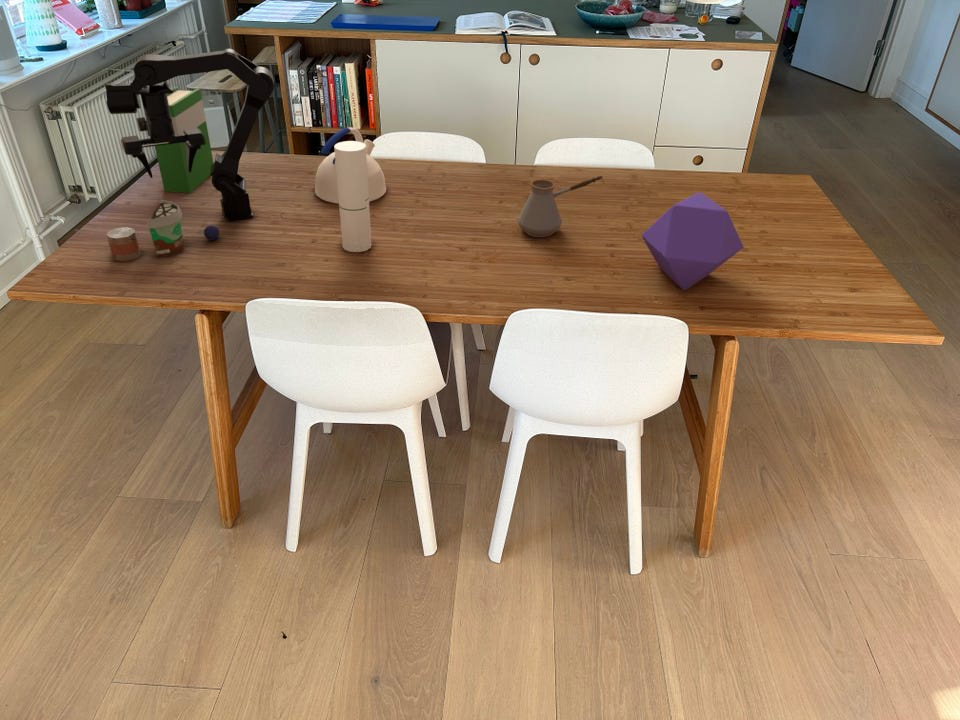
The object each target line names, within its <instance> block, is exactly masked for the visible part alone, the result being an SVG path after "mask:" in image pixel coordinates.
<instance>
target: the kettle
mask: <svg viewBox="0 0 960 720" xmlns="http://www.w3.org/2000/svg"><path fill="white" fill-rule="evenodd" d="M349 133H352V134H353V136H354V139H355V141H357V142H362V143H364V144H365V145H366V158H367V174H368V192H369V203H370V202H373V201H376V200H378V199H380V198H382V197H383V196H384V195H385V193H386V192H387V187H386V180H385V179H386V178H385V174H384V172H383V170H382V167H381V166H380V164H379V163H378V162H377V161H376V160H375V158H373V157H372V156H371V154H372V151H373V150H374V148H375V147H376V145H375V143H374V142H373V141H372V140H370V139H368V138H367V139H364V138H363V136H362V134H361V132H360V131H359V130H358V129H357V128H354V127H343V128H342V129H340V130H339V131H337V132H336V133H334V134H333V135H332V136H331V137H329V139H328V140H327V141H326V142H325V144H324V145H323V147H322V148H321V151H320V154H321V155H328V154H329V152H330V150H331V149H332V148H333V146H335V144H336V143H337V142H338V141H339V140H340V139H341V138H342V137H344V136H345V135H348V134H349ZM314 193H315V195H316V196H317V197H318V198H319V199H320V200H323V201H325V202H327V203H331V204H336V205H339V198H338V186H337V174H336V161H335V151H334V152H331V153H330V154H329V155H328V156H327V157H325V158H324V159H323V160H322V161H321V163H320V164H319V166H318V167H317V170H316V173H315V177H314Z"/></svg>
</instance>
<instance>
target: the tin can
mask: <svg viewBox="0 0 960 720" xmlns="http://www.w3.org/2000/svg"><path fill="white" fill-rule="evenodd" d="M106 238H107V242H108V246H109V249H110V252H111V255H112V258H113V260H114V261H116V262H129V261H133V260H136V259H138V258H139V257H140V256H141V250H140V246H139V240H138V238H137V234H136V230H135V229H134V228H132V227H129V226H121V227H116V228H112V229H110V230H108V231H107V233H106Z"/></svg>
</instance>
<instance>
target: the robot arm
mask: <svg viewBox="0 0 960 720" xmlns="http://www.w3.org/2000/svg"><path fill="white" fill-rule="evenodd" d="M224 70H225V71H226V70H228V71H229V72H230V73H232V74H233V75H234V76H235V77H236V78H238V79H239V80H240V81H241V82H243V83H244V84H245V85H247V87H246V92H245V99H244V102H243V105H242V108H241V110H240V113H239V116H238V118H237V120H236V124H235V126H234V128H233V131H232V133H231V136H230V138H229V141H228V144H227V147H226V148H225V150H224V152H223V153H222V154H219V153H215V158H214V161H213V163H214V164H213V165H212V166H211V172H210V176H209V177H211V185H212V186H213V188H214V189H215V190H217V191H218V192H220V194H221V198H220V199H219V201H220V207H221V212H222V215H223V216H224V217H225V218H226V219H227V221H229V222H233V221H238V220H244V219H249V218H250V219H251V218H253V217H254V213H253V212H252V209H251V208H252V207H251V203H250V195H249V192H248V191H247V189H246V178H245V177H243V176H242V175H241V174H240V173H238V171H239V166H240V160H241V158H242V155H243V153H244V150H245V148H246V146H247V142H248V140H249V138H250V134H251V133H252V129H253V128H254V125H255V122H256V120H257V117H258V115H259V112H260V110H261V109H262V108H263V107H264V105H265V104H266V103H267V102H268V100H269V99H270V97H271V95H272V94H273V92H274V89H275V83H274V82H275V81H274V76H273V73H272V72H271V70H270V69H268V68H267V67H263V66H258V64H255V63H254V62H252V61H251V60H249V59H248V58H246V57H244V56H242V55H241V54H239V53H238V52H237V51H236V50H234V49H232V48H225V49H223V50H217V51H209V52H201V53H192V54H185V55H178V56H172V55H171V56H170V55H166V54H165V55H164V54H152V53H151V54H149V53H147V54H142V55H141V56H139V57H138V59H137V61H136V63H135V64H134V67H133V74H134V77H132V78H131V80H130V82H129V83H115V82H114V83H113V82H107V83H106V84H105V85H104V87H105V95H106V107H107V110H108V112H109V113H110V115H125V114H126V115H127V114H137V113H138V109H140V110H141V108H142V106H143V112H144V116H143V117H136V119H135V120H136V124H137V128H138V131H139V132H147V136H148V138H143V139H140V138H139V136H138V135H129V136H123V137H121V139H120V143H121V148H122V150H123V152H124V154H125V155H126V156H131V157H132V158H133V159H134V158H137V159H138V161H139V162H140V163H141V164H142V166H143V167H144V169H145V171H146V172H147V174H148V175H149V177H150V179H153V172H152V169H151V166H150V164H149V160H148V159H147V155H146V153H145V151H144V149H145V148H150V147H155V146H159V145H167V144H175V143H182V142H184V144H185V148H186V158H187V167H188V171H189V173H191V170H192V165H193V161H194V157H195V154H196V152H197V149H201V146H200V145H205V144H206V142H205V137H204V134H203V133H202V132H201V131H200V130H199V129H198V128H193V129H185V130H184V134H181V135H175V133H174V128H173V123H172V118H171V113H170V108H169V103H168V98H167V94H172V93H173V92H174V87H175V86H174V85H171V84H170V83H169V82H168V81H169V80H172V79H174V78H176V77H179V76H187V75H194V74H202V73H209V72H211V73H212V72H216V71H224ZM145 87H147V88H145ZM141 101H142V103H141ZM143 148H144V149H143Z"/></svg>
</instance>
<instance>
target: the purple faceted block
mask: <svg viewBox="0 0 960 720" xmlns="http://www.w3.org/2000/svg"><path fill="white" fill-rule="evenodd" d="M641 238H642V240H643V241H644V244H645V245H646V246H647V248H648V250H649V252H650V254H651V255H652V257H653V259H654V261H655V262H656V264H657V267H658V268H659V269H660V270H661V271H662V272H663V273H664V274H665V275H666V276H667V277H668V278H669V279H671V280H672V281H673V282H674V283H675V284H676V285H677V286H678V287H680V289H681V290H682V291H686V290H688V289H690V288H691V287H692V286H694V285H696V284H697V283H698V282H700V281H702V280H704V278H706V277H708V276H709V275H710V274H712V273H713V272H715V271H716V270H717V269H718V268H719V267H721V266H722V265H723V264H725V263H726V262H727V261H728V260H730V259H731V258H733V257H734V256H735V255H736V254H738V253H739V252H740V251H742V250H743V249H744V244H743V242H742V240H741V238H740V236H739V234H738V231H737V230H736V227H735V225H734V223H733V220H732V218H731V216H730V214H729V212H728V210H726V209H725V208H723V207H722V206H721V205H719V204H718V203H717V202H715V201H714V200H713V199H710V198H709V197H708V196H707V195H705V194H704V193H702V192H701V191H698V192H696V193H694V194H693V195H690V196H689V197H686V198H684V199H683V200H681V201H678V202H677V203H675V204H673V205H671V207H670V208H668V210H667V211H666V212H664V213H663V214H662V215H661V216H660V217H658V219H657V220H655V222H654V223H653V224H652V225H651V226H649V228H647V229H646V230H645V231H644V232H643V233H642V234H641Z"/></svg>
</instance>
